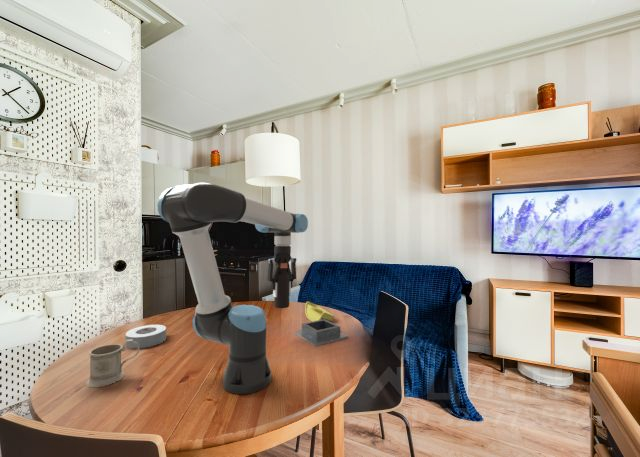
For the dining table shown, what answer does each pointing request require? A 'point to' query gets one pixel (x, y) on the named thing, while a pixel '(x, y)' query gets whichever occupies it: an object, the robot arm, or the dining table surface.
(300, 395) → the dining table surface
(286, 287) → the vinegar
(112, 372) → the mug
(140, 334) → the tape roll
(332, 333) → the duct collar
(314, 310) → the plastic component
